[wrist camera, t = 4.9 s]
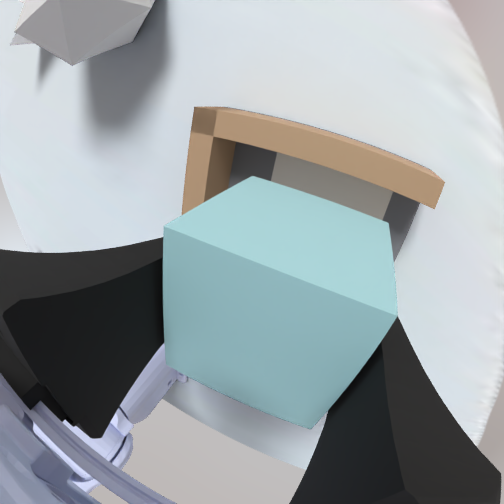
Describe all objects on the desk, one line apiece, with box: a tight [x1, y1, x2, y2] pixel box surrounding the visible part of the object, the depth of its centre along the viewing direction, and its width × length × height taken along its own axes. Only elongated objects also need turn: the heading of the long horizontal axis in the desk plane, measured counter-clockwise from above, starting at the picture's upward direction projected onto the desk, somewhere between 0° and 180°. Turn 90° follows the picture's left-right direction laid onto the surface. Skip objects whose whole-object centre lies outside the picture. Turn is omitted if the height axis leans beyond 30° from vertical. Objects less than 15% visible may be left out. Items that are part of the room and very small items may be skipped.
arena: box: [182, 107, 445, 261], centre depth 14 cm, size 10×11×3 cm
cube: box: [163, 176, 398, 429], centre depth 9 cm, size 5×5×5 cm
